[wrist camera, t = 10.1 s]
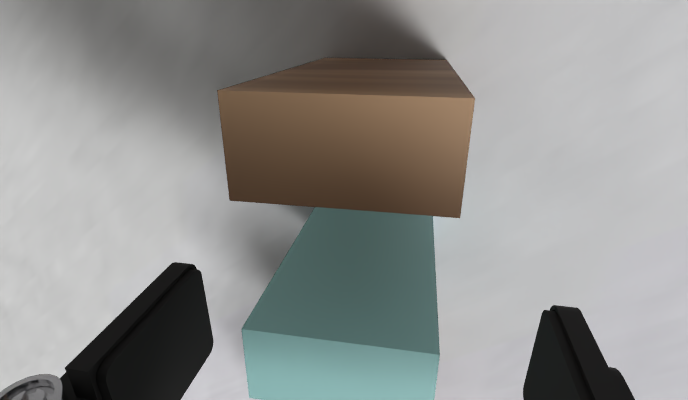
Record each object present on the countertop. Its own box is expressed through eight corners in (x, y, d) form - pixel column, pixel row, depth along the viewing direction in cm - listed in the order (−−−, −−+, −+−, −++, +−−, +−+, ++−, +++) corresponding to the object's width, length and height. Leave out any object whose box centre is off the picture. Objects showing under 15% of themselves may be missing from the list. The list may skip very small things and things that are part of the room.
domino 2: (325, 190, 20) (241, 329, 11) (431, 197, 19) (439, 354, 10) (326, 234, 21) (249, 397, 12) (427, 243, 20) (430, 425, 11)
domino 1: (325, 57, 17) (217, 90, 8) (446, 59, 17) (474, 98, 7) (326, 114, 18) (230, 200, 9) (440, 119, 17) (460, 218, 8)
